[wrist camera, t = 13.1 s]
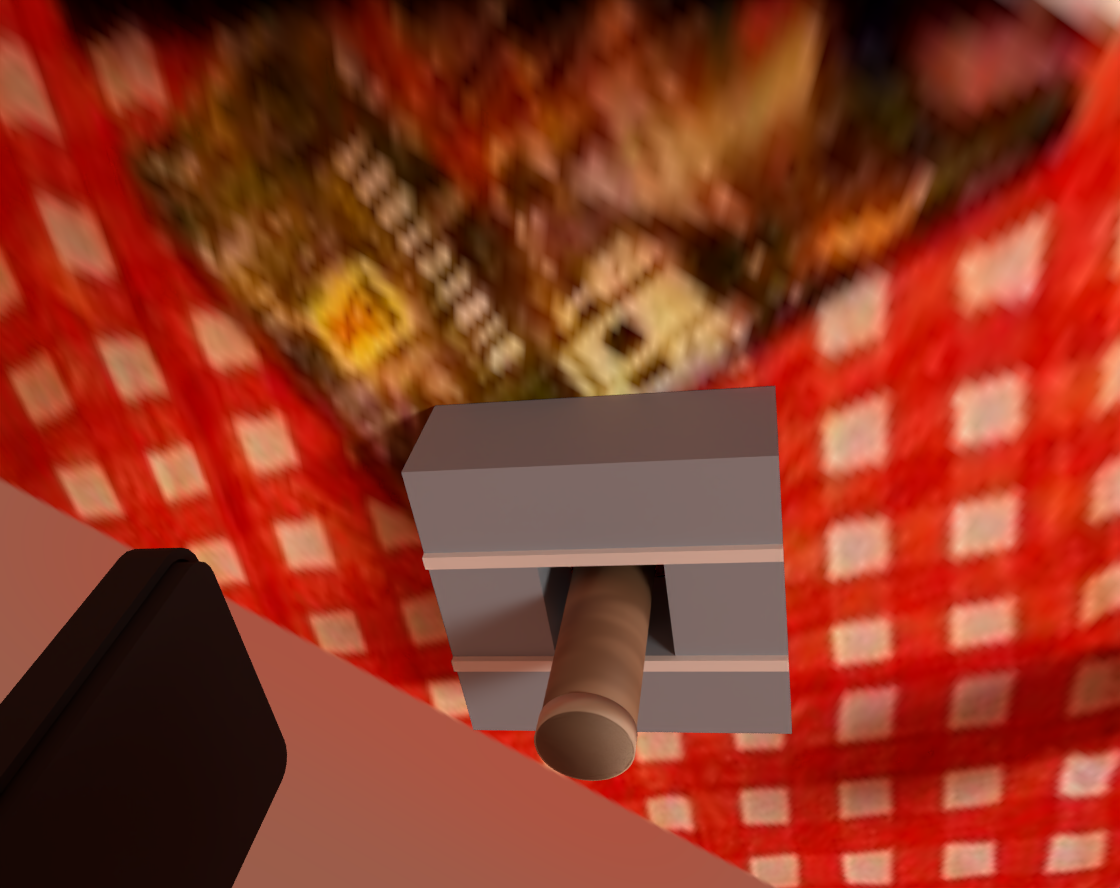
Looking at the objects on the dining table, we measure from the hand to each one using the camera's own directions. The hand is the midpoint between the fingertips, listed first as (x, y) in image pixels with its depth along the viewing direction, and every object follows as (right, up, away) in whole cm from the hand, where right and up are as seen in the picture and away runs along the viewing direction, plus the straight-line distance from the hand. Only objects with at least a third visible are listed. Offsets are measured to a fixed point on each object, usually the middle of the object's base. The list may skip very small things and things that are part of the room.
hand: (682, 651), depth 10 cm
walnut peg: (+2, -2, +35) cm, 35 cm away
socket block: (+1, -2, +35) cm, 35 cm away
